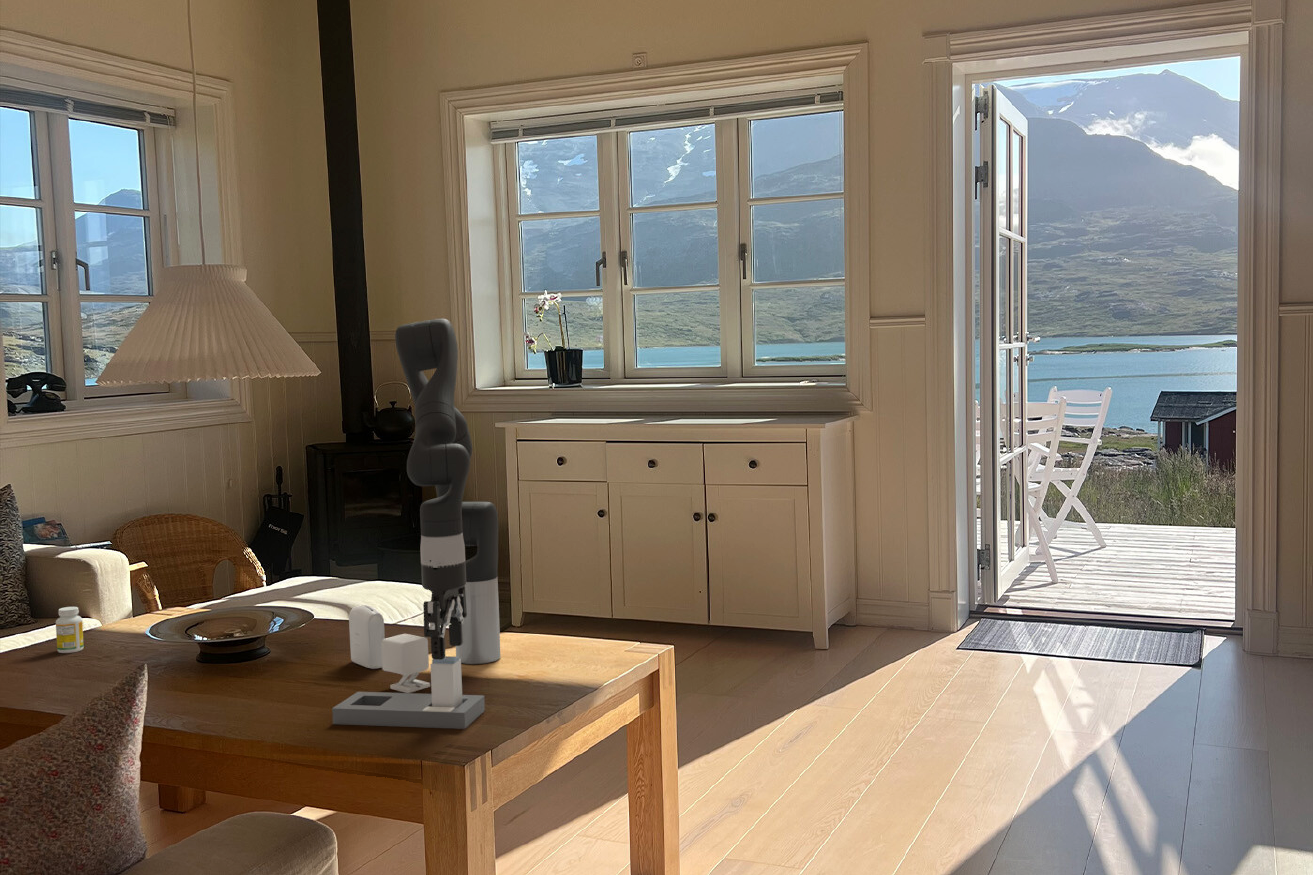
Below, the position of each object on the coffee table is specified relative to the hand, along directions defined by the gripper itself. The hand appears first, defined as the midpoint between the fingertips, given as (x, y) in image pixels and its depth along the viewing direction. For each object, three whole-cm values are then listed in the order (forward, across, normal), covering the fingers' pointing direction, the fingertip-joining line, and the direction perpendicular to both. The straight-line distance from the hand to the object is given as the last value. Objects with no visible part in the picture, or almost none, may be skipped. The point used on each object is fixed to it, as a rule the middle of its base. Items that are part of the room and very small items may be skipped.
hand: (447, 652), depth 199 cm
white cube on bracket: (+13, -18, -15) cm, 27 cm away
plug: (+12, 0, 0) cm, 12 cm away
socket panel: (+12, 0, -7) cm, 14 cm away
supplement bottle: (+13, -40, -105) cm, 113 cm away
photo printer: (+13, -35, -31) cm, 48 cm away
